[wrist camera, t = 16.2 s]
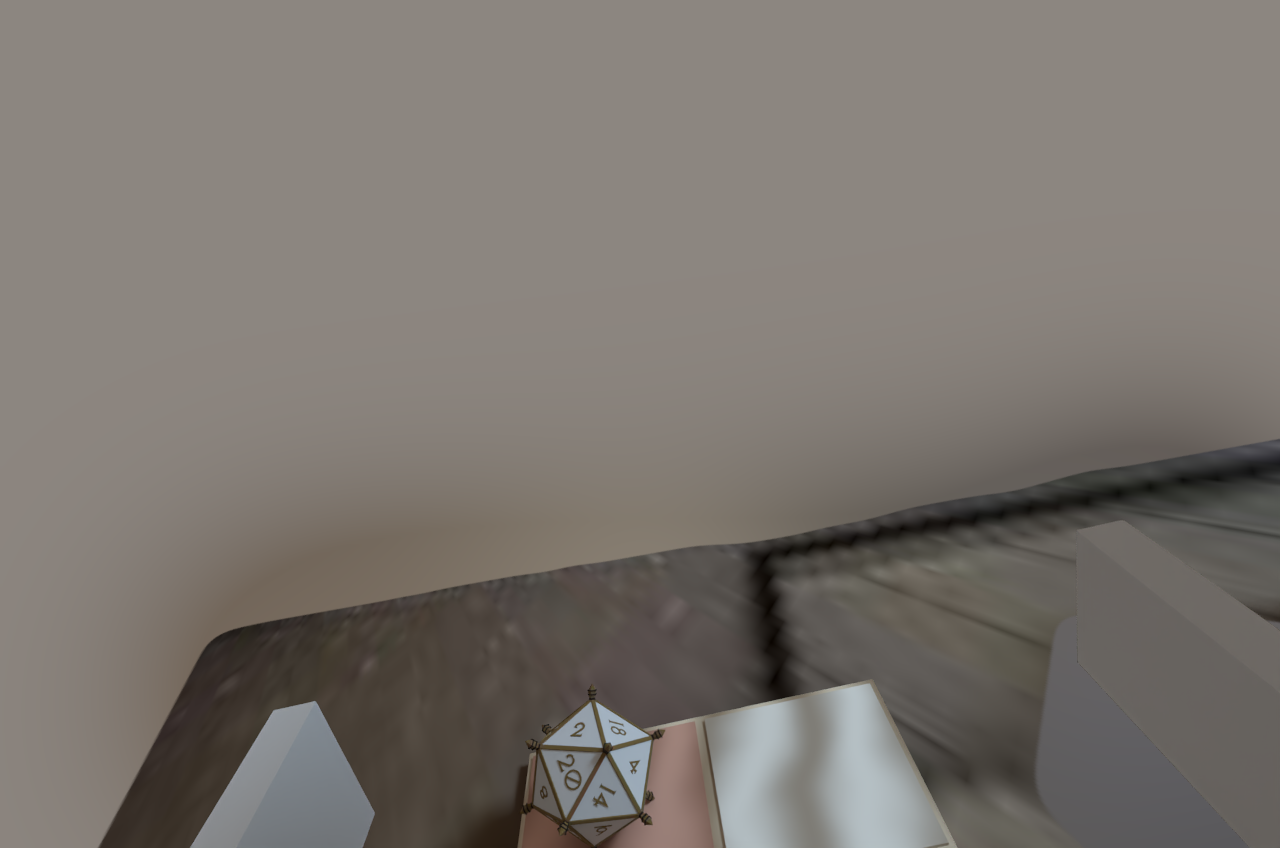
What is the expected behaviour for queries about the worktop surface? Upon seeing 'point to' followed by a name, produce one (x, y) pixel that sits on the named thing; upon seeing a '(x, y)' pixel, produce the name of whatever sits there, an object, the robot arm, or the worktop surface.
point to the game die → (592, 773)
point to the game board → (776, 781)
